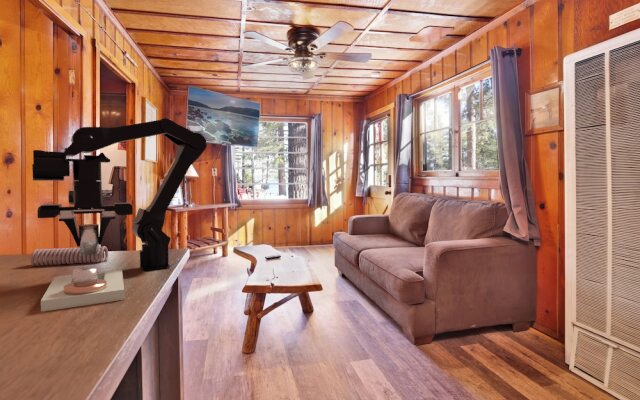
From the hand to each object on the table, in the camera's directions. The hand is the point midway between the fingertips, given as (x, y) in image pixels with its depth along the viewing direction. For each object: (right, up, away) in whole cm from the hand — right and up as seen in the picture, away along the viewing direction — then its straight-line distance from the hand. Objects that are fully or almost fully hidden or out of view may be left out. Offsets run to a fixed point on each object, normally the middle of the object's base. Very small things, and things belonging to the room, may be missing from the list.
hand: (89, 245), depth 85 cm
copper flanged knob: (+10, -7, -16) cm, 20 cm away
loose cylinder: (0, -2, 0) cm, 2 cm away
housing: (+7, -8, -12) cm, 16 cm away
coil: (-14, -7, +14) cm, 21 cm away
